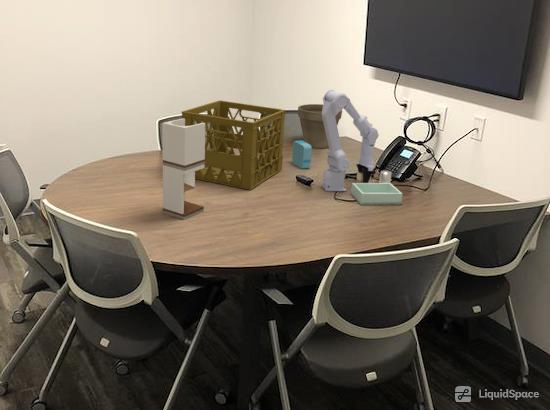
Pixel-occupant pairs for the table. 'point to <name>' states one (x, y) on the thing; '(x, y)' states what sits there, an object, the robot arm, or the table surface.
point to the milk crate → (239, 143)
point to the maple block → (361, 178)
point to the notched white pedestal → (181, 166)
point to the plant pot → (314, 125)
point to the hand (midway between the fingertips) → (363, 181)
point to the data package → (301, 154)
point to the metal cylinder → (385, 176)
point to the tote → (376, 194)
